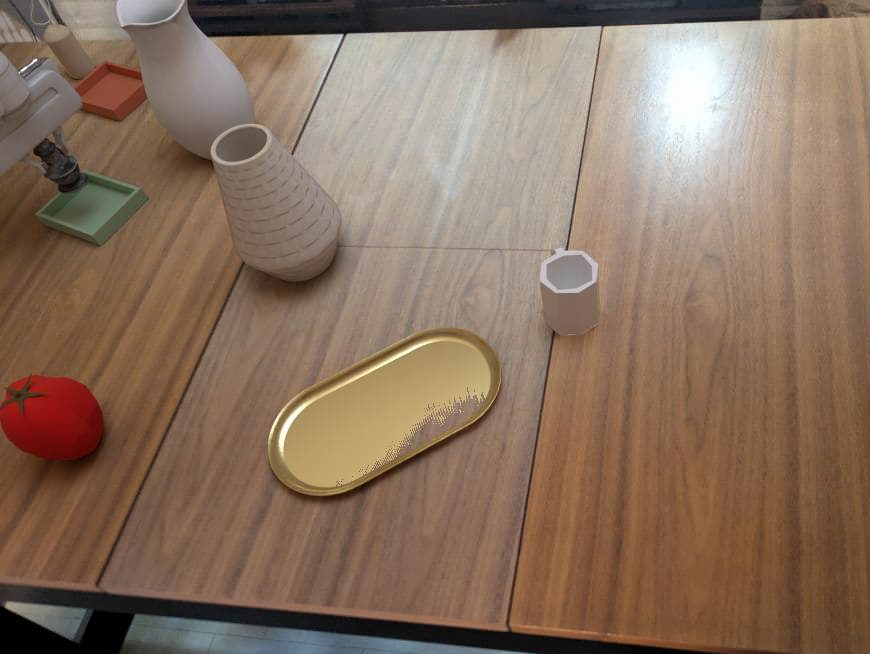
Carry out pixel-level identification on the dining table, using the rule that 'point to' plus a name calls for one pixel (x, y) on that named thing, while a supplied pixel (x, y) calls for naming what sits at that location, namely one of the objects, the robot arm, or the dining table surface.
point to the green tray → (93, 208)
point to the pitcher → (185, 74)
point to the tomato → (51, 417)
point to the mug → (570, 292)
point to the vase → (274, 205)
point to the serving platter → (379, 409)
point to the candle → (68, 51)
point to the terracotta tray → (111, 90)
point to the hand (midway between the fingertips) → (55, 162)
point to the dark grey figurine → (61, 168)
